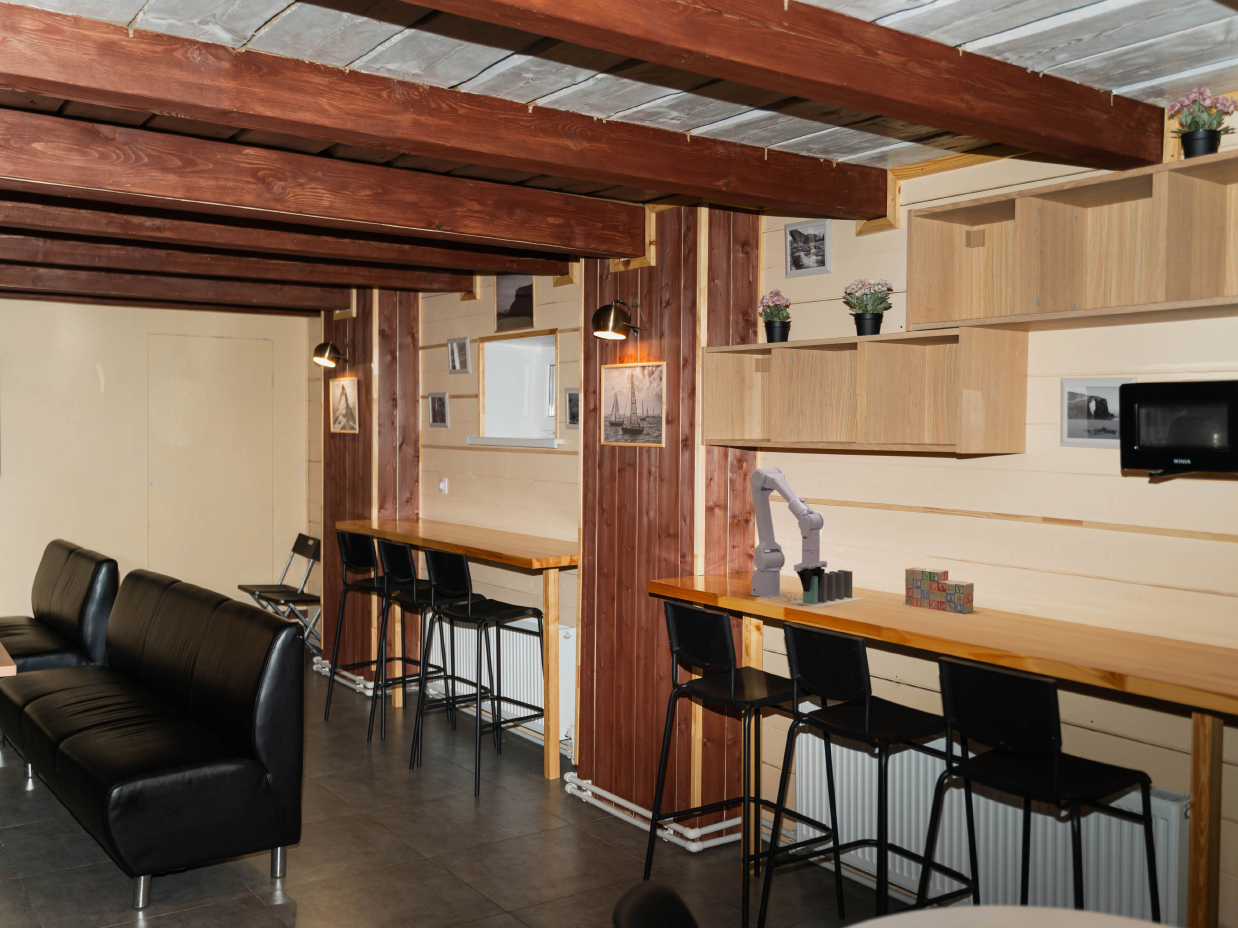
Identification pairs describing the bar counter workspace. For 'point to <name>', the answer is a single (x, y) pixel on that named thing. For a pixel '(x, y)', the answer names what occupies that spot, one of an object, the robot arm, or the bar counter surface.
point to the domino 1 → (812, 592)
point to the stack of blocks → (937, 591)
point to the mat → (829, 601)
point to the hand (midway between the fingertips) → (810, 590)
